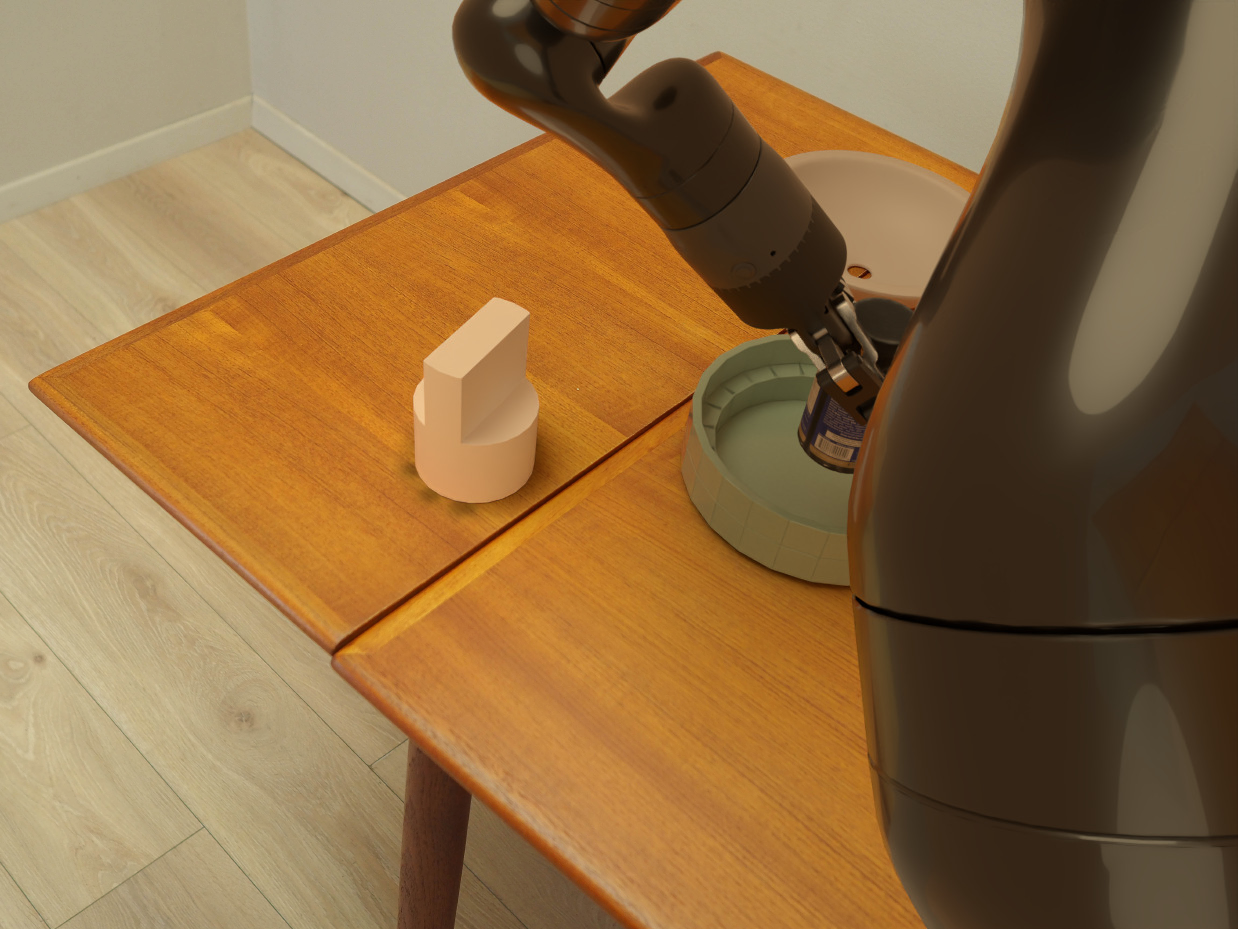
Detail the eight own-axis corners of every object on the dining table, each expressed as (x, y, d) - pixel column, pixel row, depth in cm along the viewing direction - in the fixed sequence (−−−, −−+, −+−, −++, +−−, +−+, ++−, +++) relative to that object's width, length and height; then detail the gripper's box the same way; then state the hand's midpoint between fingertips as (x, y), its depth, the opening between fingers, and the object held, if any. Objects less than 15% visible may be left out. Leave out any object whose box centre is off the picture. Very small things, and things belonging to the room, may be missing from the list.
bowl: (997, 574, 78) (1029, 522, 74) (723, 605, 73) (740, 550, 69) (887, 381, 92) (909, 327, 88) (651, 395, 87) (662, 339, 83)
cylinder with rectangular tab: (459, 402, 84) (460, 279, 75) (556, 448, 82) (569, 327, 73) (390, 469, 78) (383, 345, 69) (492, 521, 76) (498, 399, 67)
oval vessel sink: (932, 391, 92) (959, 332, 87) (694, 282, 99) (706, 222, 94) (1010, 266, 107) (1037, 210, 102) (799, 179, 114) (814, 123, 109)
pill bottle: (900, 462, 72) (957, 338, 64) (831, 488, 70) (881, 363, 62) (844, 405, 76) (892, 280, 68) (777, 428, 73) (818, 301, 65)
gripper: (843, 270, 52) (976, 437, 63) (777, 123, 62) (902, 289, 73) (719, 350, 55) (866, 497, 66) (675, 198, 65) (809, 347, 75)
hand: (885, 387), depth 69 cm, fingers closed on pill bottle, 6 cm apart
